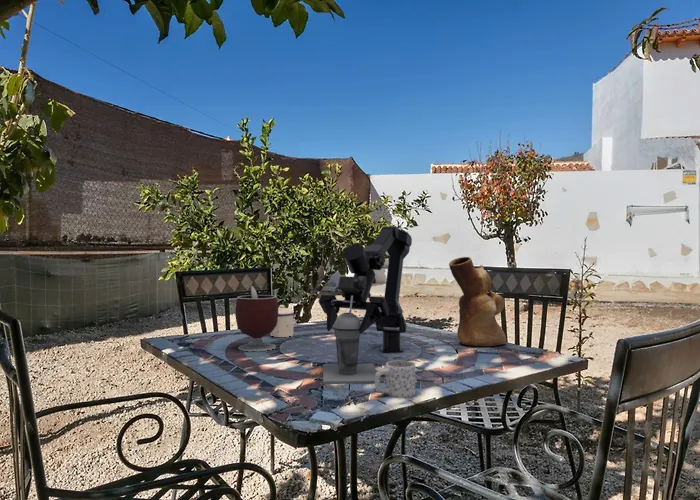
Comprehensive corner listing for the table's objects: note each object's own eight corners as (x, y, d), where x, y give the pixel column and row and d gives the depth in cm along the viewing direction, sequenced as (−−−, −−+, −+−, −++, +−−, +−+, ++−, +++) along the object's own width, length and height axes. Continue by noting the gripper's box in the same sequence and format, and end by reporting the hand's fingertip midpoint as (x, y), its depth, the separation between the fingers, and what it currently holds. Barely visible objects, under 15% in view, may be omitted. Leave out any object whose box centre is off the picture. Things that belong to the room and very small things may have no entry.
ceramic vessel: (516, 345, 165) (515, 256, 165) (467, 352, 154) (467, 257, 154) (482, 338, 178) (482, 256, 178) (435, 343, 168) (435, 256, 168)
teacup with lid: (275, 333, 189) (275, 303, 189) (297, 334, 187) (297, 304, 187) (262, 338, 178) (262, 307, 178) (285, 340, 175) (285, 307, 175)
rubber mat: (323, 366, 135) (323, 364, 135) (373, 365, 136) (373, 363, 136) (323, 384, 117) (323, 381, 117) (380, 383, 118) (380, 380, 118)
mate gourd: (283, 350, 157) (282, 288, 157) (239, 354, 151) (239, 290, 151) (271, 342, 171) (271, 285, 171) (231, 345, 166) (231, 286, 166)
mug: (404, 387, 115) (404, 359, 115) (421, 394, 109) (421, 365, 109) (367, 393, 110) (367, 364, 110) (383, 401, 104) (383, 370, 104)
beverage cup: (334, 369, 130) (334, 294, 129) (362, 369, 129) (362, 294, 129) (332, 376, 122) (332, 296, 122) (361, 376, 122) (361, 296, 122)
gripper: (321, 265, 133) (300, 309, 123) (385, 265, 125) (368, 313, 115) (334, 291, 140) (316, 335, 130) (395, 293, 133) (381, 341, 123)
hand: (343, 331), depth 124 cm, fingers open, 9 cm apart
